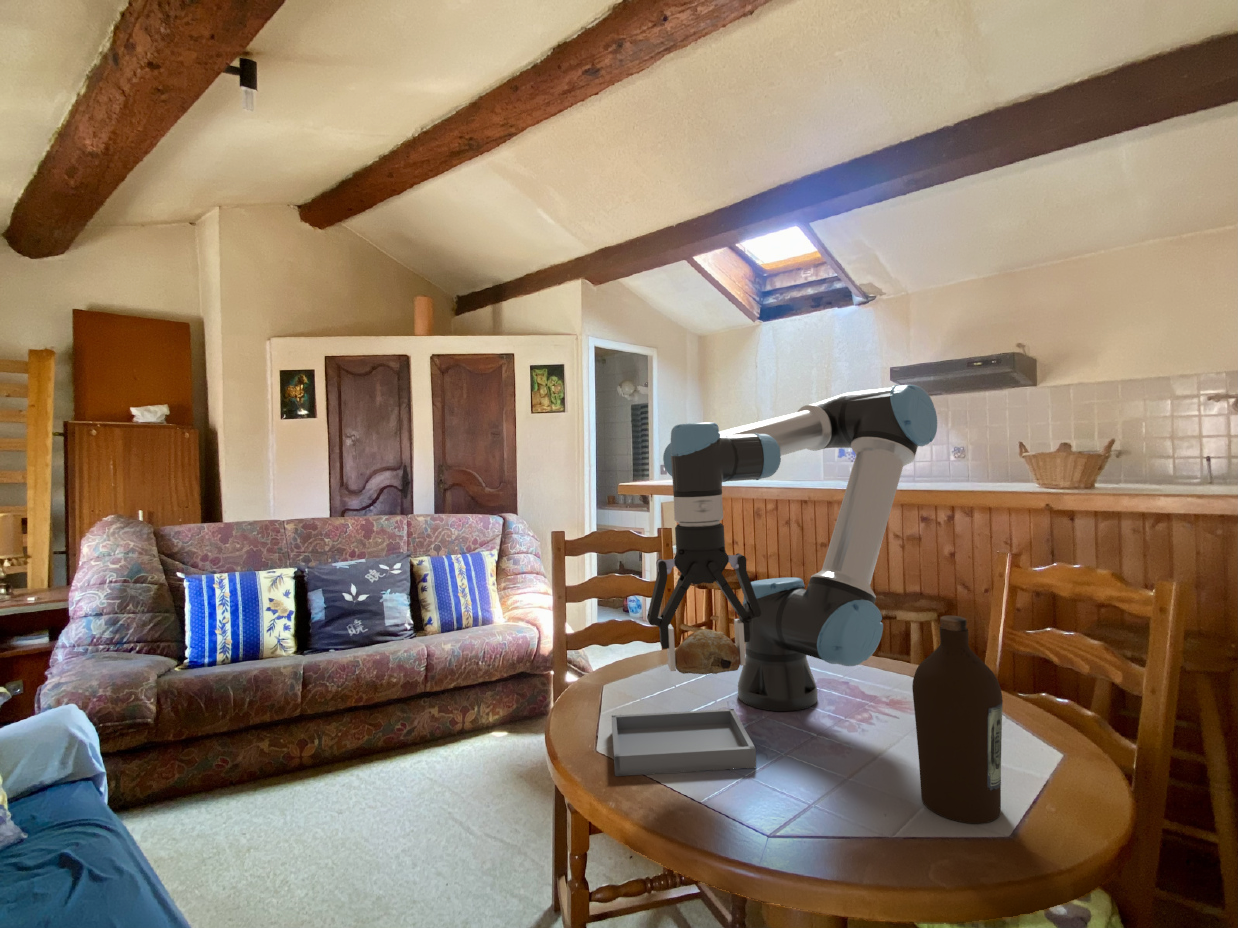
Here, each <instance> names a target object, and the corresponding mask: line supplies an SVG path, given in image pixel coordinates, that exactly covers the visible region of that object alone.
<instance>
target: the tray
mask: <svg viewBox="0 0 1238 928" xmlns="http://www.w3.org/2000/svg"><path fill="white" fill-rule="evenodd" d="M611 733H612V736H611V737H612V748H613V750H612V752H613V765H614V777H624V776H625V777H626V776H640V775H641V776H642V775H654V774H653V773H662V774H676V773H678V772H679V773H693V772H692V771H696V772H704V771H703V770H713V771H725V769H730V770H738V769H737V768H747V769H755V768H754V767H756V768H757V752H756V751H757V749H756V747H755V745H754V743H753V741H752V739H751V737H750V736H749V734H748V732H747V730H746V728H745V727H744V725H743V723H742V721H741V720H740V718H739V716H738V715H737V712H736V710H735V708H725V709H707V710H704V709H703V710H690V711H689V710H688V711H669V712H651V713H635V714H633V713H632V714H617V715H616V714H615V715H613V714H612V715H611ZM733 768H734V769H733ZM735 768H736V769H735ZM700 770H702V771H700ZM673 772H674V773H673Z"/></svg>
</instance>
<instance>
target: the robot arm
mask: <svg viewBox="0 0 1238 928" xmlns="http://www.w3.org/2000/svg"><path fill="white" fill-rule="evenodd" d="M937 430H938V415H937V410H936V407H935V404H934V402H933V400H932V398H931V396H930V395H929V394H928V392H927V391H926V390H925V389H924V388H923V387H921V386H919V385H916V384H902V385H901V384H894V385H892V386H886V387H879V388H871V389H869V388H868V389H864V390H853V391H847V392H844V393H841V394H837V395H834V396H832V397H828V398H826V399H822V400H819V401H817V402H813V403H810V404H806V405H802V406H801V407H800V408H799V409H798V410H797V411H796V412H794V413H790V414H785V415H781V416H777V417H773V418H769V419H765V420H761V421H757V422H753V423H749V424H744V425H743V424H742V425H738V426H736V427H732V428H727V429H723V430H720V428H719V424H718V423H716V422H691V423H690V422H689V423H680V424H676V425H674V426H673V427H672V429H671V432H670V442H669V444H668V445H667V446H666V447H665V449H664V452H663V455H662V457H663V458H662V460H663V466H664V469H665V471H666V472H667V474H668V475H669V476H670V477H671V478H672V479H671V480H672V490H673V512H674V513H673V515H674V521H675V522H676V523H678V524H677V525H676V526H675V528H674V530H675V532H674V534H675V555H674V557H673V558H671V559H662V558H658V559H657V560H656V563H655V564H656V573H657V574H656V578H655V583H654V586H653V591H652V593H651V594H652V595H651V598H650V603H649V606H648V607H649V608H648V611H647V615H646V619H647V621H648V623H649V625H652V626H656V627H658V628H659V631H658V632H659V644H660V646H661V648H662V649H663V650H665V649H666V651H667V652H666V653H667V655H666V656H667V666H668V669H669V670H670V672H676V671H677V669H676V664H675V650H676V648H675V647H676V646H675V629H674V627H673V625H672V624H671V621H672V620H673V618H674V616H675V614H676V612H677V610H678V609H679V607H680V604H681V602H682V600H683V598H684V597H685V595H686V593H687V591H688V590H689V588H690V587H691V585H700V584H704V583H705V584H714V582H715V583H716V585H717V586H718V588H719V589H720V590H721V592H722V593H723V595H724V596H725V598H726V599H727V601H728V602H729V604H730V605H731V607H732V609H733V610H734V611H735V613H736V615H737V616H738V618H733V624H734V626H733V628H734V644H735V646H736V647H737V649H738V651H739V654H740V666H742V669H741V672H740V676H739V679H738V681H737V694H738V695H737V696H738V698H739V700H740V701H741V702H742V703H744V704H746V705H747V706H751V707H753V708H756V709H760V710H765V711H771V712H772V711H775V712H793V711H800V710H804V709H807V708H810V707H812V706H814V705H815V704H816V703H817V702H818V687H817V683H816V681H815V678H814V676H813V673H812V671H811V667H810V665H809V662H808V659H807V656H809V657H811V658H814V659H818V660H822V661H824V662H825V663H829V664H831V665H839V666H840V665H841V666H844V667H855V666H858V665H861V664H862V663H864V662H865V661H867V660H868V659H869V658H871V656H872V655H873V654H874V653H875V651H876V650H877V648H878V646H879V644H880V642H881V639H882V637H883V630H884V623H883V622H881V621H882V620H883V616H882V612H881V611H880V609H879V607H878V606H877V605H876V604H875V603H876V600H877V596H876V594H875V593H874V590H873V589H872V587H871V583H872V580H873V576H874V573H875V568H876V565H877V562H878V558H879V555H880V550H881V547H882V542H883V539H884V536H885V532H886V529H887V526H888V522H889V519H890V515H891V511H892V507H893V504H894V501H895V497H896V493H897V490H898V487H899V482H900V478H901V476H902V471H903V468H904V467H905V466H907V465H909V464H911V463H913V462H915V461H914V460H915V458H916V454H917V452H918V451H917V450H918V447H925V446H927V445H929V444H930V443H932V442H933V440H934V439H935V437H936V435H937ZM833 448H835V449H837V448H838V449H840V448H842V449H845V448H847V449H848V448H849V449H852V451H853V453H854V454H855V457H854V461H853V465H852V467H851V472H850V474H849V475H850V476H849V478H848V482H847V485H846V488H845V491H844V495H843V498H842V502H841V505H840V508H839V512H838V515H837V517H836V522H835V525H834V527H833V531H832V534H831V539H830V542H829V545H828V548H827V551H826V555H825V557H824V561H823V565H822V568H821V570H820V571H819V572H816V573H814V574H812V575H811V576H810V579H809V581H808V584H807V588H806V589H805V587H806V585H805V583H804V580H803V579H802V578H801V577H773V578H766V579H759V580H754V581H751V580H750V579H751V578H750V577H749V575H748V571H747V557H746V556H744V555H743V554H741V553H736V554H731V555H730V554H727V552H726V543H725V525H723V523H722V522H720V521H722V520H723V519H724V508H723V507H724V505H723V483H726V482H738V481H742V482H743V481H751V480H752V481H759V480H761V479H767V478H771V477H772V476H773V475H775V474H776V472H778V470H779V468H780V466H781V462H782V461H781V460H782V456H784V455H788V454H791V453H795V452H799V451H802V450H805V449H806V450H809V451H814V452H815V451H816V452H817V451H821V450H824V449H833ZM728 563H729V564H730V566H731V568H733V569H734V571H735V574H736V577H737V580H738V583H739V586H740V588H741V591H742V594H743V601H742V603H741V601H740V600H739V598H738V597H737V595H736V593H735V592H734V590H733V589H732V588H731V587H732V586H730V584H729V583H728V581H727V579H726V578H725V576H724V575H723V571H725V568H726V567H727V565H728ZM674 567H675V568H676V569H677V570H678V572H680V575H679V577H678V580H677V582H676V585H675V587H674V589H673V591H672V593H671V594H670V597H669V599H668V601H666V604H665V606H664V609H662V611H661V605H662V602H663V598H664V594H665V590H666V585H667V580H668V575H670V574H671V573H672V571H673V568H674ZM660 611H661V614H660ZM659 614H660V616H659Z"/></svg>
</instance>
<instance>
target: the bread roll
mask: <svg viewBox="0 0 1238 928" xmlns="http://www.w3.org/2000/svg"><path fill="white" fill-rule="evenodd" d="M675 664H676V671H677V672H679V673H681V674H686V675H687V674H694V675H710V674H711V675H712V674H713V675H717V674H719V673H726V672H735V671H738V670H739V668H740V666H741V665H740V654H739V651H738V649H737V647H736V646H735V642H733V641H732V639H731V638H729V637H728V636H726V634H725V633H724V632H723V631H716V630H713V629H706V628H705V629H704V628H703V629H698V630H696V631H694V632H692V633H690V634H688V635H687V636H686V637H685V638H684V639H683V640H682V641H681V643H680V644H679V645H678V646H677V648H675Z"/></svg>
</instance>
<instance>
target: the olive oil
mask: <svg viewBox="0 0 1238 928" xmlns="http://www.w3.org/2000/svg"><path fill="white" fill-rule="evenodd" d="M939 620H940V626H939V638H940V643H939V645H938V647H937V648H936V649H934V650H933V651H932V652H931V653H930V654H929V655H928V656H926V658H925V659H923V661H921V662H920V664H919V665H918V666H917V668H916V669H915V672H914V675H913V679H912V685H911V686H912V688H911V689H912V698H913V699H912V700H913V707H914V709H913V710H914V719H915V728H916V729H915V733H916V743H917V753H918V767H919V779H920V780H919V781H920V783H919V784H920V795H921V800H922V802H923V804H924V805H925V806H926V807H927V808H928V809H929V810H930V811H932V812H933V813H935V814H937V815H939V816H941V817H943V818H946V819H949V820H952V821H956V822H960V823H966V824H984V823H985V824H986V823H990V822H994V821H995V820H997V819H998V818H999V817H1000V815H1001V809H1002V804H1001V803H1002V802H1001V801H1002V800H1001V799H1002V798H1001V797H1002V792H1001V791H1002V790H1001V789H1002V788H1001V786H1002V738H1003V737H1002V736H1003V735H1002V734H1003V733H1002V730H1003V728H1002V727H1003V702H1004V701H1003V692H1002V689H1001V686H1000V683H999V681H998V680H999V679H998V678H997V677H996V675H995V673H994V672H993V671H992V669H991V668H990V667H989V666H987V664H986V663H985V662H983V660H982V659H981V658H980V657H979V656H978V655H977V654H976V653H975V652H974V651H973V650H972V649H971V648H970V646H969V629H968V628H967V625H968V619H967V618H966V617H963V616H960V615H942V616H940V617H939Z"/></svg>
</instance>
